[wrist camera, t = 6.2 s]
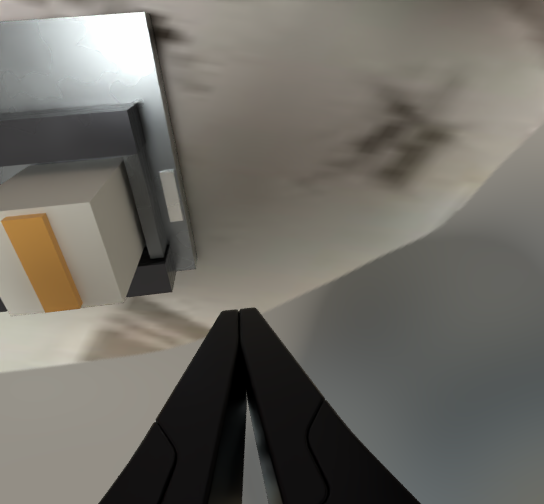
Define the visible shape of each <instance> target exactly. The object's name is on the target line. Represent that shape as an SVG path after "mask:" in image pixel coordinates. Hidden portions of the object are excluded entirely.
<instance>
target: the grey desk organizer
mask: <svg viewBox="0 0 544 504" xmlns="http://www.w3.org/2000/svg"><path fill="white" fill-rule="evenodd" d="M119 157H123V160H124V163H125V167H126V171H127V174H128V178H129V182H130V185H131V189H132V193H133V196H134V200H135V204H136V208H137V211H138V215H139V219H140V222H141V226H142V230H143V233H144V237H145V241H146V244H145V247H144V249H143V252H142V255H141V258H140V260H139V263H138V266H137V268H136V271H135V274H134V277H133V279H132V282H131V285H130V287H129V290H128V293H127V295H126V297H134V296H142V295H151V294H159V293H168V292H172V291H173V285H174V280H175V275H176V271H182V270H191V269H196V262H197V254H196V249H195V244H194V238H193V233H192V228H191V223H190V218H189V213H188V208H187V202H186V197H185V192H184V187H183V182H182V177H181V171H180V166H179V161H178V156H177V151H176V146H175V141H174V135H173V130H172V125H171V120H170V115H169V110H168V105H167V99H166V94H165V89H164V84H163V79H162V74H161V69H160V63H159V58H158V53H157V48H156V43H155V38H154V33H153V27H152V22H151V17H150V14H149V13H146V12H139V13H124V14H109V15H93V16H78V17H63V18H48V19H33V20H18V21H3V22H0V185H1V184H3V183H4V182H6V181H7V180H8V179H10V178H11V177H13V176H14V175H16V174H17V173H19V172H20V171H22V170H23V169H25V168H26V167H28V166H31V165H42V164H53V163H64V162H75V161H86V160H97V159H108V158H119ZM5 311H7V309H6V307H5V305H4V303H3V301H2V300H1V298H0V312H5Z"/></svg>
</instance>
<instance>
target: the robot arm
mask: <svg viewBox="0 0 544 504" xmlns="http://www.w3.org/2000/svg"><path fill="white" fill-rule="evenodd" d="M246 392H247V395H246ZM247 400H248V405H249V411H250V416H251V421H252V425H253V430H254V435H255V440H256V445H257V450H258V455H259V460H260V465H261V469H262V474H263V479H264V484H265V489H266V493H267V499H268V503H269V504H421V503H420V502H419V501H417V499H416V498H415V497H414V496H413V495H412V494H411V493H410V492H409V491H408V490H407V489H406V488H405V487H404V486H403V485H402V484H401V483H400V482H399V481H398V480H397V479H396V478H395V477H394V476H393V475H392V474H391V473H390V472H389V471H388V470H387V469H386V468H385V466H383V464H381V463H380V461H379V460H377V458H376V457H375V456H374V455H373V454H372V453H371V452H370V451H369V450H368V449H367V448H366V447H365V446H364V445H363V443H362V442H361V441H360V440H359V439H358V438H357V437H356V436H355V435H354V434H353V433H352V432H351V430H350V429H349V428H348V427H347V426H346V424H345V423H344V422H343V420H342V419H341V418H340V417H339V416H338V415H337V413H336V412H335V410H334V409H333V408H332V407H331V406H330V404H329V403H328V402H327V401H326V400H325V398H324V396H323V395H322V394H321V393H320V391H319V390H318V388H317V387H316V386H315V385H314V383H313V382H312V381H311V379H310V378H309V377H308V375H307V374H306V373H305V371H304V370H303V369H302V367H301V366H300V365H299V364H298V362H297V361H296V360H295V358H294V357H293V356H292V354H291V353H290V352H289V351H288V349H287V348H286V347H285V345H284V344H283V343H282V342H281V340H280V339H279V337H278V336H277V335H276V333H275V332H274V331H273V330H272V328H271V327H270V326H269V324H268V323H267V322H266V321H265V319H264V318H263V316H262V315H261V314H260V312H259V311H258V310H257V309H256V308H244V309H240V311H238V310H236V309H235V310H226V311H222V312H221V313H220V315H219V316H218V318H217V320H216V321H215V323H214V325H213V326H212V328H211V330H210V331H209V333H208V334H207V336H206V338H205V339H204V341H203V343H202V344H201V346H200V348H199V349H198V351H197V353H196V354H195V356H194V357H193V359H192V361H191V363H190V364H189V366H188V367H187V369H186V371H185V372H184V374H183V376H182V377H181V379H180V381H179V382H178V384H177V385H176V387H175V389H174V390H173V392H172V394H171V395H170V397H169V399H168V400H167V402H166V404H165V405H164V407H163V408H162V410H161V412H160V414H159V415H158V417H157V418H156V422H154V423H153V425H152V426H151V428H150V430H149V431H148V433H147V435H146V436H145V438H144V440H143V441H142V443H141V444H140V446H139V447H138V449H137V450H136V452H135V454H134V455H133V457H132V458H131V460H130V461H129V463H128V464H127V466H126V467H125V468H124V470H123V471H122V472H121V474H120V475H119V476H118V478H117V479H116V481H115V482H114V483H113V485H112V486H111V488H110V489H109V490H108V492H107V493H106V494H105V496H104V497H103V498H102V500H101V501H100V502H99V503H98V504H242V491H243V470H244V450H245V431H246V430H245V429H246V410H247Z"/></svg>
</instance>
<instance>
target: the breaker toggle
mask: <svg viewBox="0 0 544 504" xmlns="http://www.w3.org/2000/svg"><path fill="white" fill-rule="evenodd" d="M145 244H146V241H145V237H144V233H143V230H142V226H141V222H140V219H139V215H138V211H137V208H136V204H135V200H134V196H133V193H132V189H131V185H130V182H129V178H128V174H127V171H126V167H125V163H124V160H123V157H119V158H108V159H97V160H86V161H75V162H64V163H53V164H42V165H31V166H28V167H26V168H25V169H23V170H22V171H20V172H19V173H17V174H16V175H14V176H13V177H11V178H10V179H8V180H7V181H6V182H4V183H3V184H1V185H0V298H1V300H2V301H3V303H4V305H5V307H6V309H7V311H8V312H9V314H10V316H18V315H26V314H35V313H43V312H45V313H47V312H55V311H64V310H72V309H80V308H85V307H94V306H102V305H111V304H119V303H124V301H125V298H126V295H127V293H128V290H129V287H130V285H131V282H132V279H133V277H134V274H135V271H136V268H137V266H138V263H139V260H140V258H141V255H142V252H143V249H144V247H145Z"/></svg>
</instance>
